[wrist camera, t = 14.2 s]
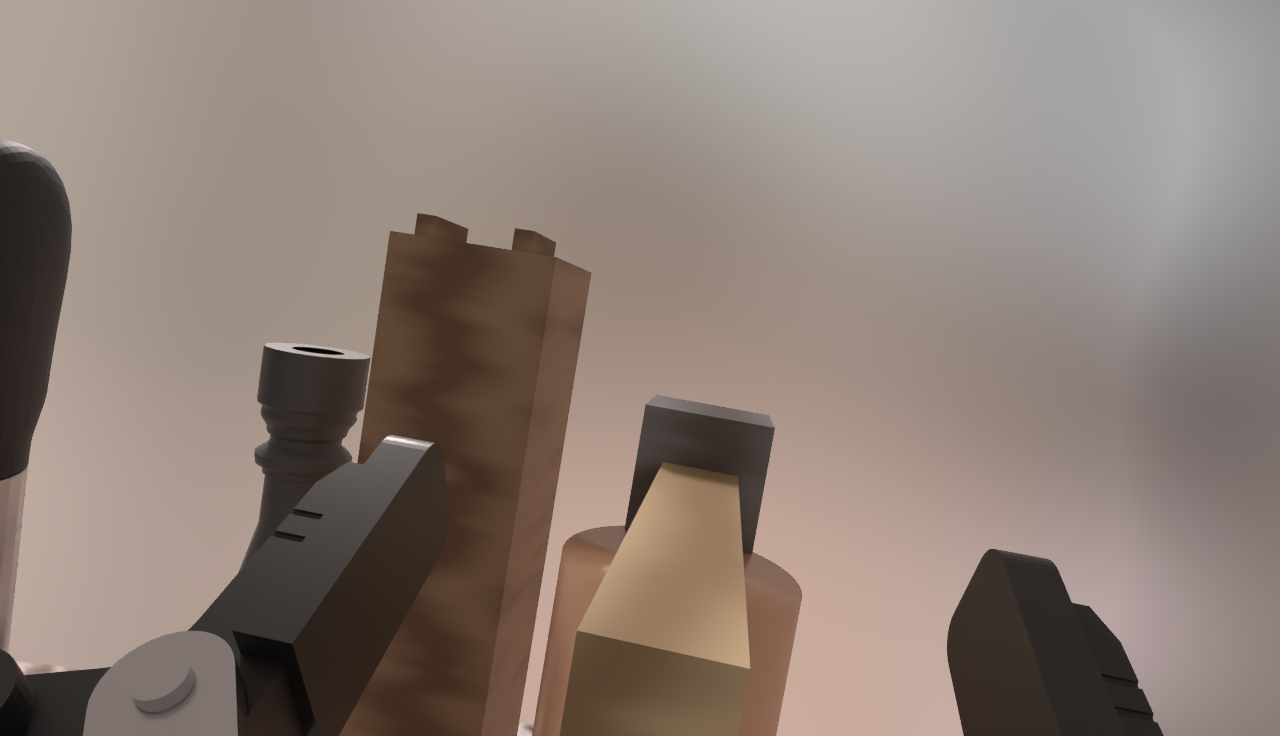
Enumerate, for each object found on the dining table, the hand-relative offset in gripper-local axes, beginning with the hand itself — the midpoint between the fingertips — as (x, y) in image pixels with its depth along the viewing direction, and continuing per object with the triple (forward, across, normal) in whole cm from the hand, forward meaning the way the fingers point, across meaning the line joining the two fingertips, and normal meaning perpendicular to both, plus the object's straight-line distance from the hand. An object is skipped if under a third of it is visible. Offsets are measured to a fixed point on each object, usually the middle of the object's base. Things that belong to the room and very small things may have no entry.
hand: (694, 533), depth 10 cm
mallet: (+6, 0, +9) cm, 11 cm away
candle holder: (+11, +23, +37) cm, 45 cm away
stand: (+9, +12, +36) cm, 38 cm away
